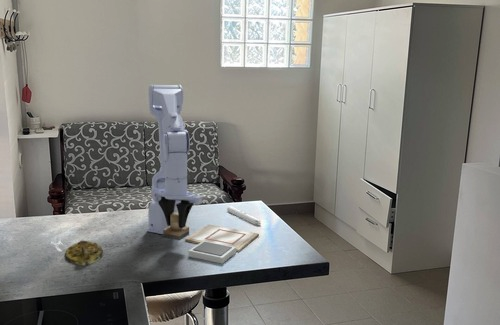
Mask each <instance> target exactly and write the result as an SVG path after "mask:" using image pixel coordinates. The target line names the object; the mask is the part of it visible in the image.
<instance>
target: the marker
mask: <svg viewBox="0 0 500 325" xmlns="http://www.w3.org/2000/svg"><path fill="white" fill-rule="evenodd" d="M226 210H227V212H228V213H230V214H233V215H235V216H236V217H238V218H241V219H242V220H244V221H246V222H248V223H251V224H252V225H256V226H261V224H262V223H261V221H260V219H259V218H256V217H255V216H253V215H250V214H248V213H246V212H244V211H243V210H239V209H238V208H235V207H234V206H231V205H229V206H227V208H226Z"/></svg>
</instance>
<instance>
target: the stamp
mask: <svg viewBox="0 0 500 325" xmlns="http://www.w3.org/2000/svg"><path fill="white" fill-rule="evenodd" d="M162 236H163V238H165V239H168V240H174V241H181V240H183V239H186V238H187V237H189V236H190V226H187V225H186V226H185V227H183V228H179V214H178V212H174V213H171V214H170V226H169V227H167V228H165V229H163V234H162Z"/></svg>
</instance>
